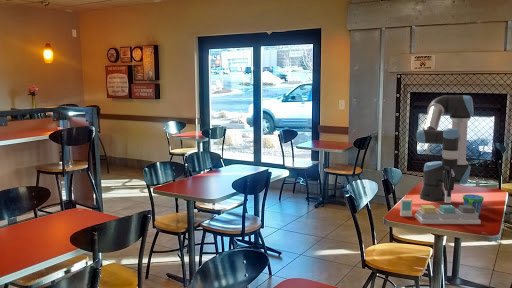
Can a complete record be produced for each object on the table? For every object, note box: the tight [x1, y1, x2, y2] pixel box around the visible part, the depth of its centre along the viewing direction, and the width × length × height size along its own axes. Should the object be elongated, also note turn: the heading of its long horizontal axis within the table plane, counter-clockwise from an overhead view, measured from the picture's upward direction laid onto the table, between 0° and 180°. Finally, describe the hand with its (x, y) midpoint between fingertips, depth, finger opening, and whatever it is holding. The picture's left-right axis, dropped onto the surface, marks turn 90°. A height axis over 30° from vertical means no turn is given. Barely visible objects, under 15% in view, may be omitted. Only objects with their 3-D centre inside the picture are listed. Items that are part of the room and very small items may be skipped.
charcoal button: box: [458, 204, 475, 213], centre depth 248 cm, size 6×6×4 cm
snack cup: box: [462, 194, 485, 215], centre depth 260 cm, size 16×10×10 cm
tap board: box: [414, 208, 482, 225], centre depth 249 cm, size 12×30×5 cm, turn 87°
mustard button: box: [420, 204, 437, 213], centre depth 249 cm, size 6×6×4 cm
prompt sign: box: [399, 198, 413, 217], centre depth 258 cm, size 3×6×9 cm, turn 87°
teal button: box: [439, 204, 456, 213], centre depth 249 cm, size 6×6×4 cm
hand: (447, 202), depth 248 cm, fingers closed
